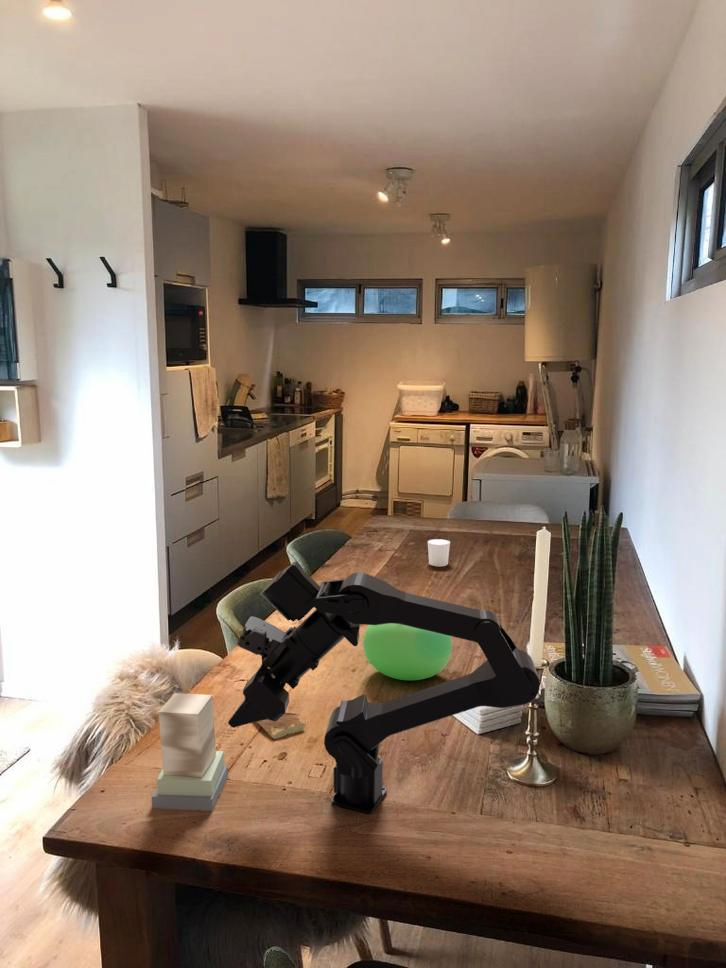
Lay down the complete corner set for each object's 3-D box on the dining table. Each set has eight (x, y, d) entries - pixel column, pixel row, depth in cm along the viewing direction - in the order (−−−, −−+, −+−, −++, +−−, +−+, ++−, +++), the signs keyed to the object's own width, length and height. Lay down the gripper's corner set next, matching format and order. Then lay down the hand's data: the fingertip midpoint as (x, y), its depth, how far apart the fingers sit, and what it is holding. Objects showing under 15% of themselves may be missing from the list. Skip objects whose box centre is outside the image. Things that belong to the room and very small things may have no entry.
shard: (245, 717, 140) (245, 707, 140) (283, 706, 144) (282, 697, 144) (271, 742, 131) (271, 733, 131) (310, 730, 135) (310, 721, 135)
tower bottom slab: (228, 779, 120) (227, 765, 120) (212, 814, 112) (212, 799, 111) (172, 777, 121) (171, 763, 121) (152, 811, 112) (151, 796, 112)
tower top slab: (224, 765, 120) (223, 751, 119) (211, 796, 112) (210, 780, 111) (173, 764, 120) (172, 750, 120) (157, 794, 112) (156, 779, 112)
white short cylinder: (450, 567, 230) (451, 544, 229) (427, 567, 230) (428, 544, 229) (448, 560, 237) (449, 538, 236) (426, 560, 237) (426, 538, 236)
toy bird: (352, 685, 152) (351, 614, 149) (379, 652, 168) (379, 588, 165) (440, 699, 146) (441, 626, 143) (460, 664, 162) (462, 598, 159)
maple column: (216, 755, 118) (212, 695, 116) (202, 777, 112) (198, 714, 110) (179, 753, 119) (174, 693, 117) (163, 774, 113) (158, 711, 111)
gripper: (282, 582, 119) (215, 647, 122) (257, 626, 101) (179, 701, 104) (333, 631, 120) (265, 694, 123) (317, 684, 102) (238, 757, 105)
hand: (237, 709), depth 113 cm, fingers open, 9 cm apart
